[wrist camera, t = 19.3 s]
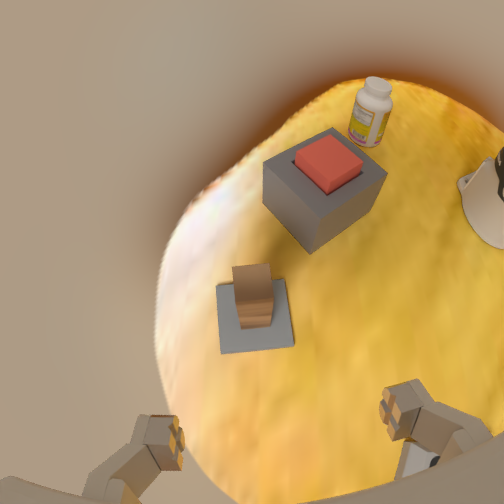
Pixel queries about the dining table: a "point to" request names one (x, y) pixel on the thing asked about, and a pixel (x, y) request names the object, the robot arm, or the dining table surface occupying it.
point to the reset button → (328, 164)
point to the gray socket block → (318, 195)
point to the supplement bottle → (371, 112)
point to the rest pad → (258, 337)
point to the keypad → (415, 459)
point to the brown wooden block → (253, 295)
